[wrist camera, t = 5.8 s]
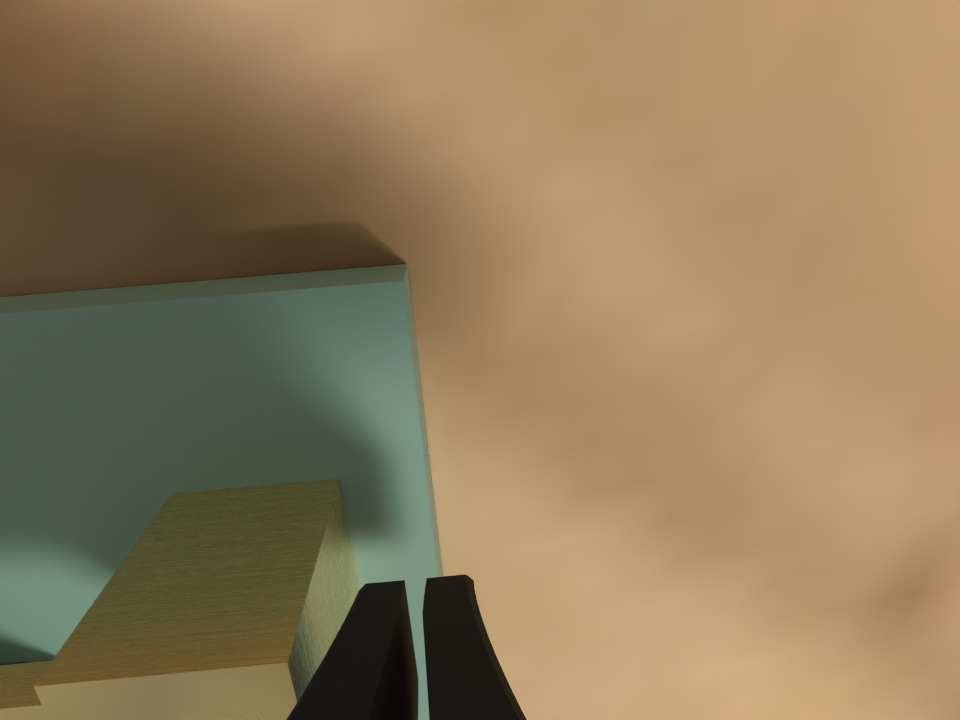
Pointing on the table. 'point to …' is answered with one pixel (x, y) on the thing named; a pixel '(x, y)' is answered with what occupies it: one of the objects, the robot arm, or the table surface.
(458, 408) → the table surface
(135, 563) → the tan stepped block
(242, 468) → the board
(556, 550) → the table surface
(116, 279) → the table surface
